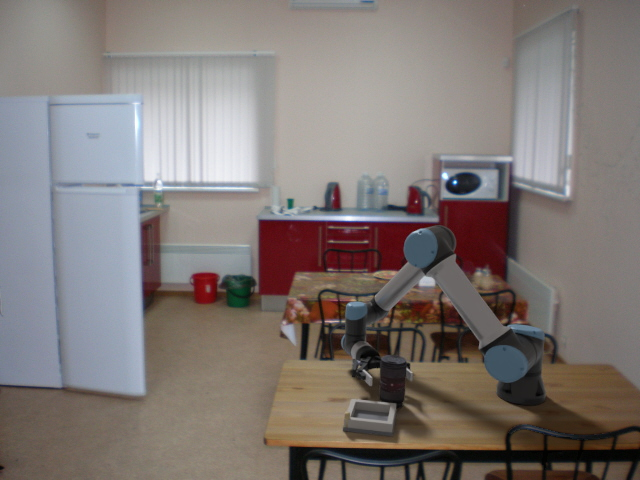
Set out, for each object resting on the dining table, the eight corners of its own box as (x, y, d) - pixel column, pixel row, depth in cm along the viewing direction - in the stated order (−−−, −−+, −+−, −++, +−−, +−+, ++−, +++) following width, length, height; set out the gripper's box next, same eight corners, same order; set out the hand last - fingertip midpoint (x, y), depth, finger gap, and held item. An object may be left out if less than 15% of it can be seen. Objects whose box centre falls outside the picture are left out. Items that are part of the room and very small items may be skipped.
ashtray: (396, 414, 179) (397, 398, 178) (392, 436, 166) (393, 419, 165) (350, 409, 182) (351, 393, 181) (342, 430, 168) (343, 414, 168)
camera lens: (404, 412, 181) (406, 364, 178) (377, 409, 182) (379, 362, 180) (405, 400, 188) (407, 355, 186) (380, 398, 190) (381, 353, 188)
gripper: (398, 362, 208) (427, 386, 188) (330, 369, 201) (353, 395, 181) (399, 341, 207) (428, 363, 187) (331, 348, 199) (354, 372, 180)
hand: (391, 379), depth 184 cm, fingers open, 13 cm apart
